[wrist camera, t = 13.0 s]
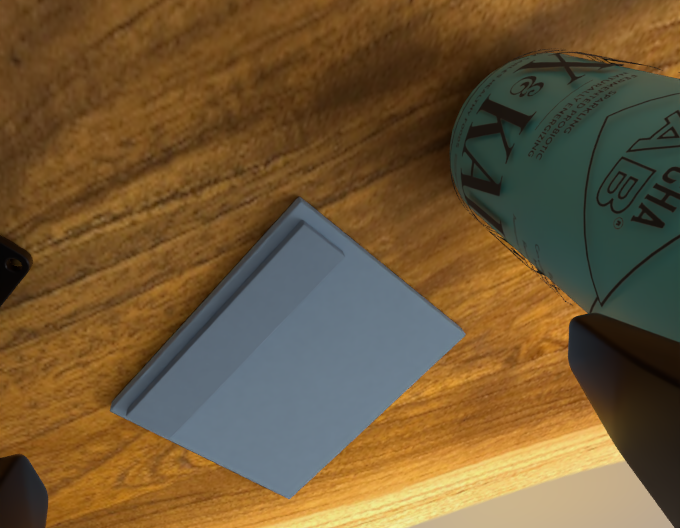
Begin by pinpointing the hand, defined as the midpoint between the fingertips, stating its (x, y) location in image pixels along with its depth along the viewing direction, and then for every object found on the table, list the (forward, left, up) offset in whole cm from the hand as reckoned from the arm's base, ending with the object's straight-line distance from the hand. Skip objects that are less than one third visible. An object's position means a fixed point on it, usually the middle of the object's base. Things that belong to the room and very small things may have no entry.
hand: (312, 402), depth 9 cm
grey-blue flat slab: (-6, -7, -13) cm, 16 cm away
